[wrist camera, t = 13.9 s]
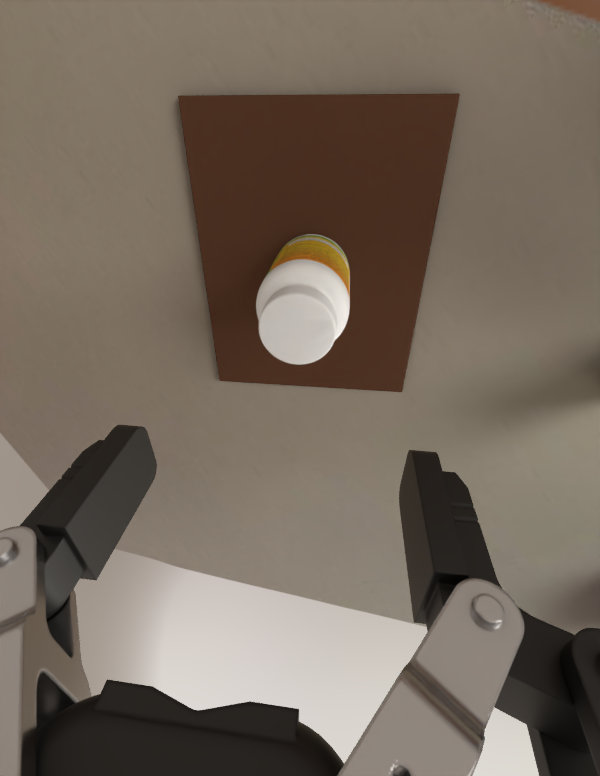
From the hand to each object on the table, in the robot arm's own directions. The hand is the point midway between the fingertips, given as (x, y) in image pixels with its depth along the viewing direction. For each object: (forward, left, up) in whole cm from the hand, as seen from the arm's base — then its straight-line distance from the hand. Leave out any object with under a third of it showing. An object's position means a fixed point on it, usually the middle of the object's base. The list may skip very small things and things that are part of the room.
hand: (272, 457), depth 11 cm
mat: (0, 0, -19) cm, 19 cm away
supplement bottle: (0, 0, -19) cm, 19 cm away
